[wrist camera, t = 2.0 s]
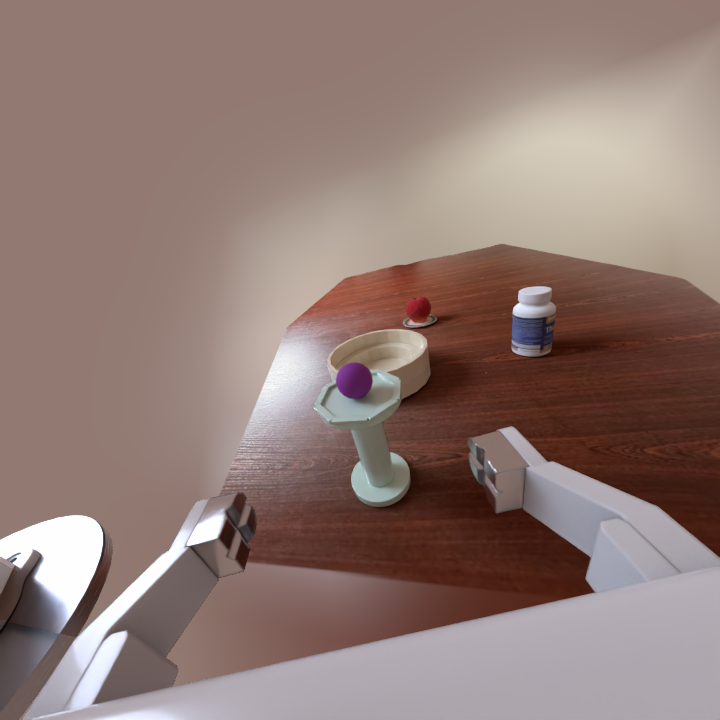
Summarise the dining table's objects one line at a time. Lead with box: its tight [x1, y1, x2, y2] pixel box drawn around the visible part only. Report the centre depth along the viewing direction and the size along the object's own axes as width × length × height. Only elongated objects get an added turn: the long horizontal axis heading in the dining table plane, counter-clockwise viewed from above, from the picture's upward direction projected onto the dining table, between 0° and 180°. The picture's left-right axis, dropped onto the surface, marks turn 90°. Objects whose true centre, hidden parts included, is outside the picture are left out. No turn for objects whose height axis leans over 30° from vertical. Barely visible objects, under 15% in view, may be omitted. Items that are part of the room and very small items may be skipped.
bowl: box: [327, 329, 431, 399], centre depth 43 cm, size 16×16×6 cm
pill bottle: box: [512, 286, 556, 357], centre depth 40 cm, size 5×5×10 cm
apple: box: [403, 297, 437, 327], centre depth 62 cm, size 8×8×6 cm
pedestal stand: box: [314, 369, 411, 507], centre depth 24 cm, size 7×7×11 cm
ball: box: [336, 362, 373, 399], centre depth 21 cm, size 3×3×3 cm
